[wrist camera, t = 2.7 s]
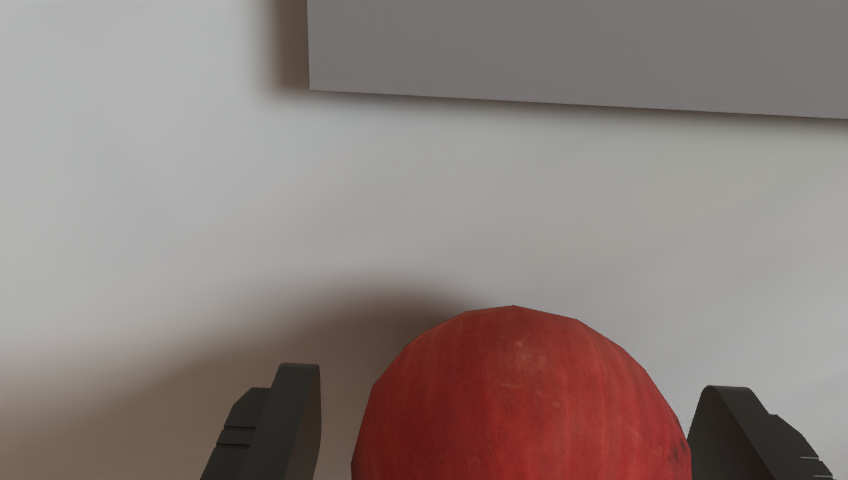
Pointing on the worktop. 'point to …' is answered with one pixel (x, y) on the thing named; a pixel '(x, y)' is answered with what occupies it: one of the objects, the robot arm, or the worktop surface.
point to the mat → (590, 52)
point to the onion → (517, 406)
